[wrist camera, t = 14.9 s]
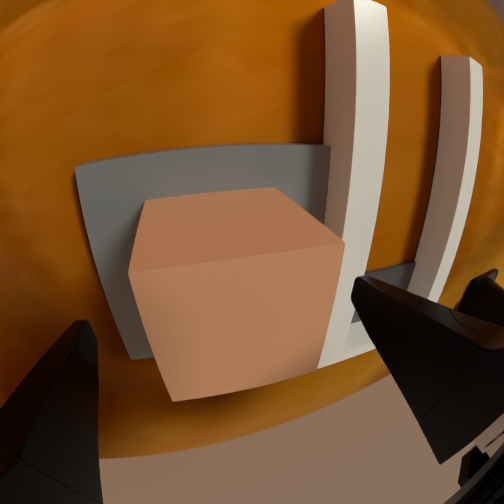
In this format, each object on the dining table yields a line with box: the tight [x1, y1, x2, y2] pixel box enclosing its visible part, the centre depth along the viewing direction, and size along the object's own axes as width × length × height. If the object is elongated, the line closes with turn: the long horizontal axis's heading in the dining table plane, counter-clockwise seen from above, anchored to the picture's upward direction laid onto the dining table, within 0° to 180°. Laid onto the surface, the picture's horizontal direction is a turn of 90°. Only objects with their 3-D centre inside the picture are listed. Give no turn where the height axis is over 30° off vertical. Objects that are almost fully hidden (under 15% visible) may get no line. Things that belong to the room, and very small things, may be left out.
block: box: [128, 187, 345, 402], centre depth 8 cm, size 4×4×4 cm
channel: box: [317, 0, 483, 369], centre depth 11 cm, size 9×17×2 cm, turn 0°
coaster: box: [75, 143, 331, 360], centre depth 11 cm, size 9×9×1 cm
